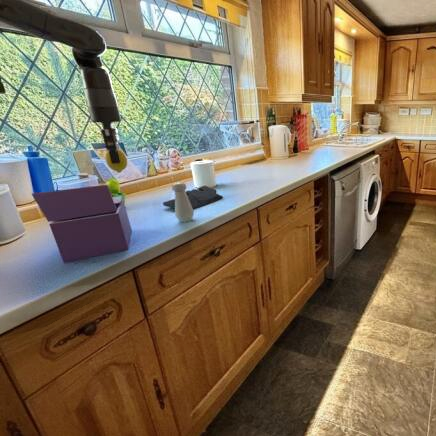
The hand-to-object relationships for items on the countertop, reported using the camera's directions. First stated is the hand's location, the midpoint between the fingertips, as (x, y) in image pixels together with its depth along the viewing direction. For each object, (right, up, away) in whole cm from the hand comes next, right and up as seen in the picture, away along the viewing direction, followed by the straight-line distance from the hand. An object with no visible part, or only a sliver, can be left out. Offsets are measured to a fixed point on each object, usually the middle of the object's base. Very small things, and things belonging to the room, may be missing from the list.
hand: (116, 161), depth 96 cm
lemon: (0, -4, +1) cm, 4 cm away
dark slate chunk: (+12, -12, +28) cm, 33 cm away
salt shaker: (+19, -19, +7) cm, 27 cm away
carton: (+3, -26, -10) cm, 28 cm away
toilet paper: (+6, -2, +56) cm, 56 cm away
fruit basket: (-20, -13, +26) cm, 36 cm away
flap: (+7, -14, -23) cm, 28 cm away
